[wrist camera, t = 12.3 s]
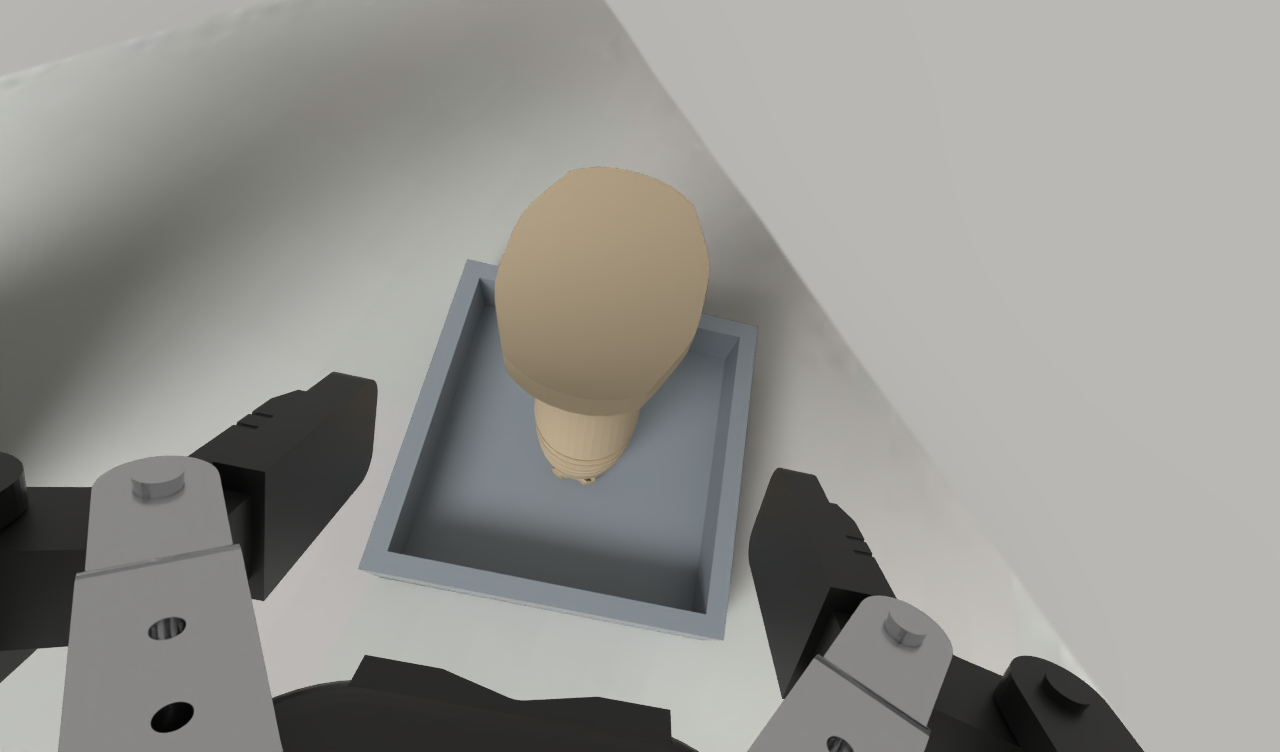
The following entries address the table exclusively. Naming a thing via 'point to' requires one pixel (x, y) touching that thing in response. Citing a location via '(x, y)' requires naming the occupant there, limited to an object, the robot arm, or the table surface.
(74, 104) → the table surface
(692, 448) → the tray
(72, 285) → the table surface
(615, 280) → the beige club-shaped piece
